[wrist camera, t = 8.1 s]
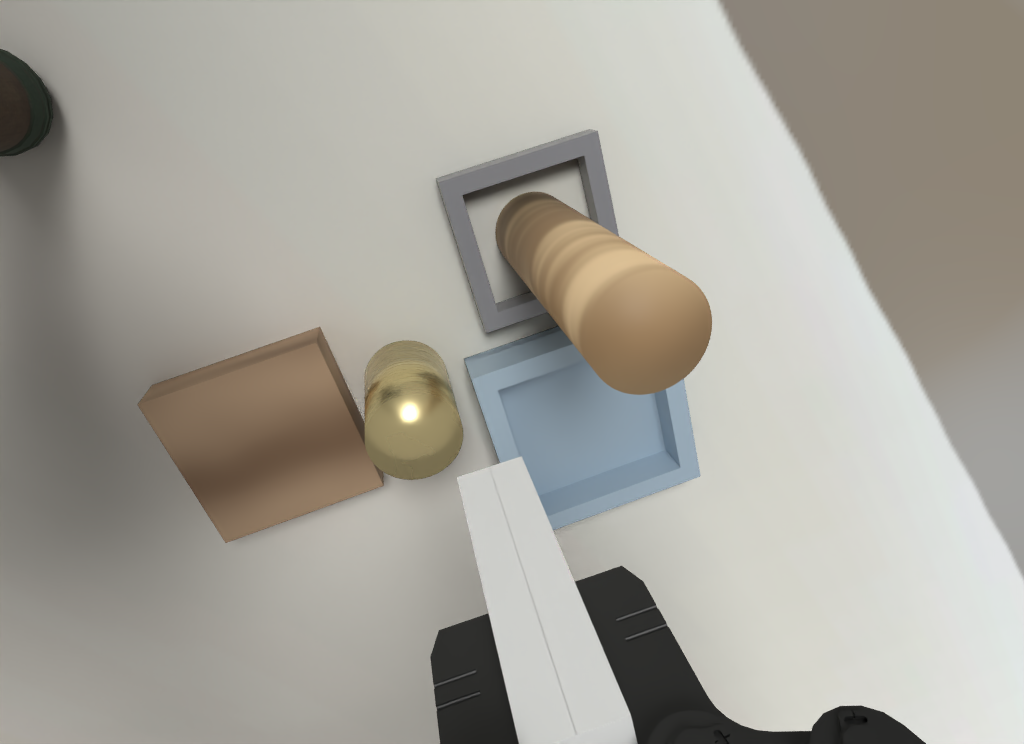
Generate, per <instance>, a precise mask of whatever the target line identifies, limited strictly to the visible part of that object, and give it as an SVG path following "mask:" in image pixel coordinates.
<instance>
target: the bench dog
mask: <svg viewBox="0 0 1024 744" xmlns="http://www.w3.org/2000/svg"><path fill="white" fill-rule="evenodd" d="M462 441H463V428H462V424H461V420H460V417H459V413H458V410H457V406H456V403H455V399H454V396H453V392H452V389H451V385H450V382H449V378H448V375H447V371H446V368H445V365H444V362H443V360H442V359H441V357H440V356H439V355H438V353H437V352H436V351H434V350H433V349H432V348H430V347H429V346H427V345H425V344H423V343H420V342H416V341H398V342H394V343H391V344H389V345H386V346H385V347H383V348H381V349H380V350H379V351H378V352H377V353H375V354H374V356H373V357H372V358H371V360H370V361H369V363H368V365H367V368H366V372H365V447H366V450H367V453H368V455H369V457H370V459H371V460H372V462H373V463H374V464H375V465H376V466H377V467H378V468H379V469H380V470H382V471H383V472H385V473H386V474H388V475H391V476H393V477H396V478H400V479H409V480H414V479H422V478H426V477H430V476H432V475H435V474H437V473H439V472H440V471H442V470H443V469H445V468H446V467H447V466H448V465H450V464H451V463H452V461H453V460H454V459H455V458H456V456H457V455H458V453H459V451H460V448H461V445H462Z"/></svg>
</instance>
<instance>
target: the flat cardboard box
mask: <svg viewBox="0 0 1024 744" xmlns="http://www.w3.org/2000/svg"><path fill="white" fill-rule="evenodd" d="M138 406H139V408H140V409H141V411H142V413H143V414H144V416H145V417H146V419H147V420H148V422H149V423H150V425H151V427H152V428H153V430H154V431H155V433H156V434H157V436H158V438H159V439H160V441H161V442H162V444H163V445H164V447H165V449H166V450H167V452H168V453H169V455H170V456H171V458H172V460H173V461H174V463H175V464H176V466H177V467H178V469H179V471H180V472H181V474H182V475H183V477H184V478H185V480H186V482H187V483H188V485H189V486H190V488H191V489H192V491H193V492H194V494H195V496H196V497H197V499H198V500H199V502H200V503H201V505H202V507H203V508H204V510H205V511H206V513H207V514H208V516H209V518H210V519H211V521H212V522H213V524H214V525H215V527H216V529H217V530H218V532H219V533H220V535H221V536H222V538H223V540H224V541H225V543H227V542H230V541H233V540H235V539H238V538H241V537H244V536H246V535H249V534H252V533H255V532H257V531H260V530H263V529H266V528H268V527H271V526H274V525H277V524H279V523H282V522H285V521H288V520H290V519H293V518H296V517H299V516H301V515H304V514H307V513H310V512H312V511H315V510H318V509H321V508H323V507H326V506H329V505H332V504H334V503H337V502H340V501H343V500H345V499H348V498H351V497H354V496H356V495H359V494H362V493H365V492H367V491H370V490H373V489H376V488H378V487H381V486H384V484H383V471H382V470H380V469H379V468H378V467H377V466H376V465H375V464H374V463H373V462H372V460H371V459H370V457H369V455H368V453H367V450H366V447H365V423H364V421H363V419H362V417H361V415H360V413H359V410H358V408H357V406H356V404H355V402H354V400H353V397H352V395H351V393H350V391H349V389H348V387H347V384H346V382H345V380H344V378H343V376H342V374H341V371H340V369H339V367H338V365H337V363H336V361H335V358H334V356H333V354H332V352H331V350H330V348H329V345H328V343H327V341H326V339H325V337H324V335H323V333H322V330H321V328H320V327H318V328H315V329H312V330H309V331H307V332H304V333H301V334H298V335H295V336H292V337H289V338H286V339H284V340H281V341H278V342H275V343H272V344H269V345H266V346H263V347H261V348H258V349H255V350H252V351H249V352H246V353H243V354H240V355H238V356H235V357H232V358H229V359H226V360H223V361H220V362H217V363H215V364H212V365H209V366H206V367H203V368H200V369H197V370H194V371H192V372H189V373H186V374H183V375H180V376H177V377H174V378H171V379H169V380H166V381H163V382H160V383H157V384H154V385H152V386H151V387H150V389H149V390H148V391H147V393H146V394H145V395H144V397H143V398H142V399H141V401H140V402H139V403H138Z"/></svg>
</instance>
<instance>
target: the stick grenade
mask: <svg viewBox="0 0 1024 744" xmlns="http://www.w3.org/2000/svg"><path fill="white" fill-rule="evenodd" d="M52 118H53V112H52V105H51V98H50V96H49V94H48V92H47V90H46V88H45V86H44V84H43V82H42V80H41V79H40V78H39V77H38V76H37V74H36V73H35V72H34V71H33V70H32V69H31V68H30V67H29V66H28V65H27V64H26V63H25V62H23V61H22V60H20V59H19V58H17V57H16V56H14V55H12V54H11V53H9V52H8V51H5V50H2V49H0V156H14V155H18V154H20V153H23V152H25V151H27V150H29V149H31V148H34V147H36V146H38V145H39V144H40V143H41V141H42V140H43V139H44V138H45V137H46V136H47V134H48V133H49V130H50V126H51V122H52Z"/></svg>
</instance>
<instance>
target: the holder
mask: <svg viewBox="0 0 1024 744" xmlns="http://www.w3.org/2000/svg"><path fill="white" fill-rule="evenodd" d="M575 158H577V159H578V163H579V168H580V173H581V177H582V182H583V186H584V191H585V195H586V200H587V204H588V209H589V214H590V218H591V220H592V221H594V222H596V223H597V224H599V225H601V226H602V227H604V228H606V229H607V230H609V231H611V232H612V233H614V234H616V235H617V236H619V234H618V229H617V225H616V220H615V215H614V210H613V205H612V200H611V195H610V190H609V185H608V180H607V175H606V170H605V165H604V160H603V155H602V150H601V145H600V140H599V135H598V131H595V130H586V131H582V132H579V133H576V134H573V135H570V136H567V137H564V138H561V139H558V140H554V141H551V142H548V143H545V144H542V145H539V146H536V147H533V148H530V149H527V150H523V151H520V152H517V153H514V154H511V155H508V156H505V157H502V158H499V159H495V160H492V161H489V162H486V163H483V164H480V165H477V166H474V167H471V168H468V169H464V170H461V171H458V172H455V173H452V174H449V175H446V176H443V177H440V178H436V181H437V184H438V187H439V190H440V193H441V196H442V199H443V203H444V206H445V209H446V212H447V215H448V218H449V221H450V224H451V228H452V231H453V234H454V237H455V240H456V243H457V246H458V249H459V253H460V256H461V259H462V262H463V265H464V268H465V271H466V274H467V278H468V281H469V284H470V287H471V290H472V293H473V296H474V299H475V302H476V306H477V309H478V312H479V315H480V318H481V321H482V324H483V326H484V328H485V331H486V333H488V332H491V331H494V330H497V329H500V328H503V327H506V326H509V325H512V324H515V323H518V322H520V321H523V320H526V319H529V318H532V317H535V316H538V315H541V314H544V313H547V310H546V309H545V308H544V307H543V305H542V304H541V303H540V301H539V300H538V299H537V298H536V296H535V295H534V294H533V293H532V292H529V293H526V294H523V295H520V296H517V297H514V298H511V299H508V300H505V301H503V302H500V303H497V304H495V301H494V297H493V294H492V291H491V288H490V284H489V281H488V278H487V274H486V271H485V268H484V265H483V261H482V258H481V255H480V252H479V248H478V245H477V242H476V238H475V235H474V232H473V229H472V225H471V222H470V219H469V216H468V212H467V209H466V206H465V202H464V199H463V196H462V195H464V194H467V193H470V192H473V191H476V190H479V189H482V188H485V187H489V186H492V185H495V184H498V183H501V182H504V181H507V180H510V179H513V178H516V177H519V176H522V175H525V174H529V173H532V172H535V171H538V170H541V169H544V168H547V167H550V166H553V165H556V164H559V163H562V162H566V161H569V160H572V159H575Z"/></svg>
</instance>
